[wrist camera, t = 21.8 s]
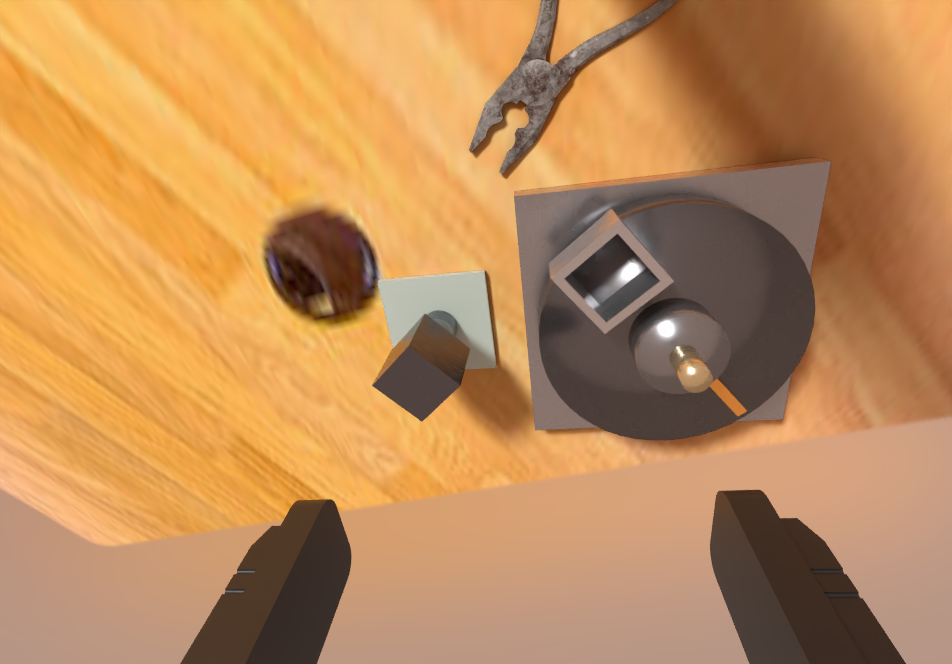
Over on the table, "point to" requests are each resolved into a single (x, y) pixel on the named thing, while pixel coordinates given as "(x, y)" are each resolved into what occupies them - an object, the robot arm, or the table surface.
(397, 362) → the block
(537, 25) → the pliers
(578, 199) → the drill stand
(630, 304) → the chuck collar
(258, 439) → the table surface
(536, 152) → the table surface
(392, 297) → the mat
